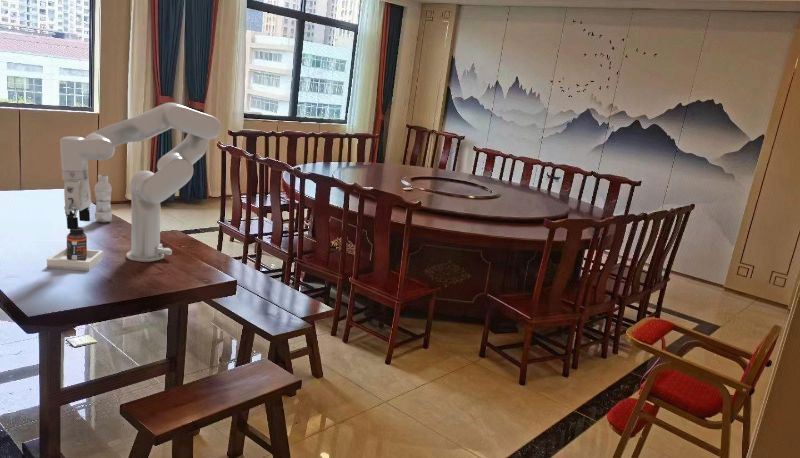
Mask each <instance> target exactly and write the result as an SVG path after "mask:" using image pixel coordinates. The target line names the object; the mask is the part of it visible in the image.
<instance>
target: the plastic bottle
mask: <svg viewBox="0 0 800 458" xmlns="http://www.w3.org/2000/svg"><path fill="white" fill-rule="evenodd" d="M97 180H98V181H97V182H96V184H95V186H94V195H95V212H94V219H95V221H96V222H98V223H109V222H111V221H112V219H113V212H112V209H111V208H112V207H111V197H112V190H113V188H112V185H111V184H110V183H109V182H108V181H109V175H106V174H98V176H97Z"/></svg>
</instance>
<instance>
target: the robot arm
mask: <svg viewBox="0 0 800 458" xmlns="http://www.w3.org/2000/svg"><path fill="white" fill-rule="evenodd" d="M170 129H174V130H177V131H180V132H182V133H185V134H186V136H185V138H184V139H183V140H182V141H181V142H180V143H179V144H177V145H176V146H175V147H173V148H172V149H171V150H169V151H168V152H167V153H165V154H164V155H162V156H161V157H160V158H159V159H158V161H157V164H156V169H157V171H156V172H155V173H154V172H152V171H150V170H139V171H137V172H135V173H134V174H133V176H132V177H131V179H130V183H129V193H130V202H131V219H130V220H131V225H130V228H131V230H130V231H131V234H130V235H131V236H130V238H131V240H130V242H131V243H130V246H131V247H130V249H131V250H129V251H127V253H126V255H125V256H126V258H127V259H128V260H130V261H133V262H143V263H147V262H148V263H149V262H151V263H152V262H155V261H161V260H162V259H164V257H165V255H167V256H171V255H172V253H173V250H172V249H171V248H170V247H164V246H163V243H161V214H162V213H161V210H162V209H161V203H162V202H164V201H165V200H167V199H168V198H170V197H171V196H172V195H174V194H175V193H176V192H178V191H179V190H180V189H181V188H183V187H184V186H186V185H187V183H188V182H189V181H190V180H191V179H192V177H193V175H194V164H195V163H197V161H199V160H200V159H201V158H203V156H204V155H205V154H206V152H207V150H208V147H209V142H210V140H214V139H216V138H218V137H219V135H220V134H221V132H222V124H221V121H220V120H219V119H218V118H217V117H216V116H214V115H210V114H207V113H204V112H201V111H198V110H196V109H192V108H189V107H187V106H184V105H181V104H178V103H176V102H165V103H162V104H160V105H158V106H155V107H153V108H152V109H149V110H147V111H144V112H143V113H140V114H137V115H135V116H133V117H130V118H128V119H124V120H121V121H118V122H115V123H112V124H109V125H107V126H105V127H102V128H100V129H97V130H95V131H93V132H91V133H89V134H87V136H85V137H82V136H77V135H76V136H73V135H72V136H71V135H70V136H63V137H62V138H60V140H59V146H60V147H59V148H60V160H61V163H60V164H61V172H62V173H61V176H62V180H63V181H64V184H63V185H64V188H63V189H64V190H63V191H64V193H63V197H64V198H63V199H64V207H63V208H64V213H65V218H66V228H67V230H70V229H78V227H79V222H90V221H91V217H90V216H91V215H90V213H91V212H90V206H91V205H92V196H91V194H92V193H91V186H90V182H89V179H90V178H89V177H90V176H89V160H96V161H106V160H108V159H109V160H110V159H111V158H112V157H113V156H114V154H115V152H116V151H115V147H118V146H120V145H123V144H127V143H135V142H144V141H147V140H149V139H152V138H154V137H156V136H158V135H160V134H162V133H165V132H166V131H169V130H170ZM77 214H78V215H77ZM77 216H78V217H77ZM78 218H79V219H78Z"/></svg>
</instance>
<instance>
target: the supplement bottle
mask: <svg viewBox="0 0 800 458" xmlns="http://www.w3.org/2000/svg"><path fill="white" fill-rule="evenodd" d="M87 243H88V239H87V234H86V233H85V231H84V227H81V226H78V229H69V233H68V234H67V235H66V248H67V260H79V261H85V260H86V259H87V250H88V247H87V246H88V245H87Z"/></svg>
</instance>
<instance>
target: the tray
mask: <svg viewBox="0 0 800 458" xmlns="http://www.w3.org/2000/svg"><path fill="white" fill-rule="evenodd" d="M104 255H105V253H104V250H98V249H87V259H86V260H85V261H79V260H67V247H63V248H61V249H60V250H58V251H56V253H54V254H53V255H51V256H50V257H48V258H47V259H46V268H47V269H59V270H72V271H84V270H85V271H87V272H89V271H91V270H93V268H94V267H96V266H97V265H99V263H101V262H102V261H103V260H104Z"/></svg>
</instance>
